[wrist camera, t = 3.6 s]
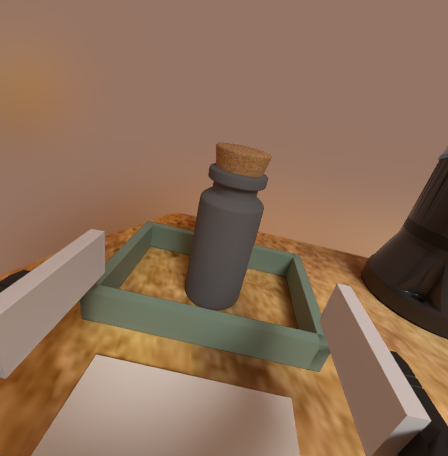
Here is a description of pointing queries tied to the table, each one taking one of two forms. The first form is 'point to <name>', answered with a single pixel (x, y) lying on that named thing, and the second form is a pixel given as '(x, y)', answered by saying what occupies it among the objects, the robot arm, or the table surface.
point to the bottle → (226, 226)
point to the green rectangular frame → (204, 318)
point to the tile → (167, 416)
